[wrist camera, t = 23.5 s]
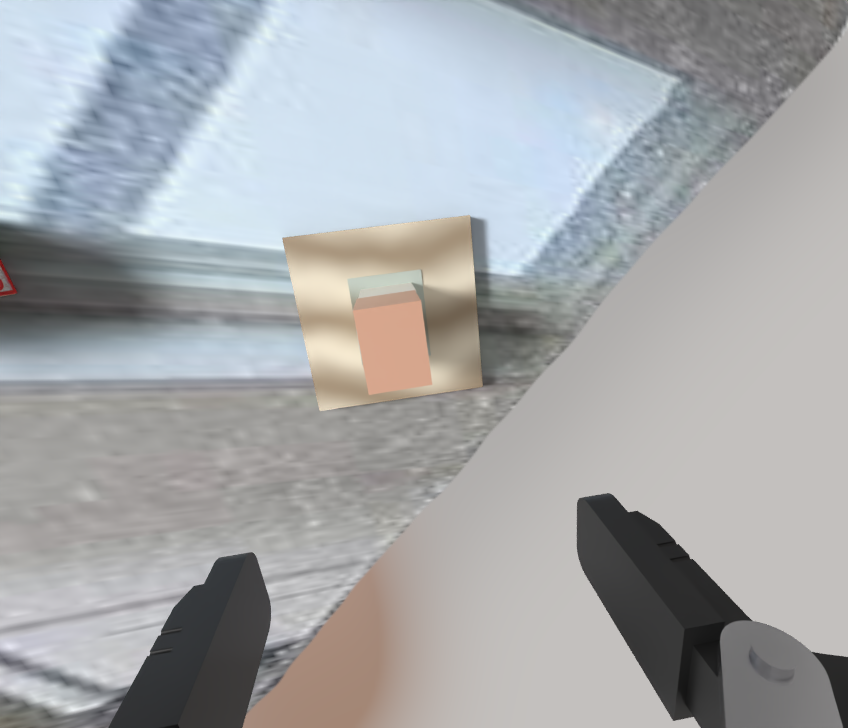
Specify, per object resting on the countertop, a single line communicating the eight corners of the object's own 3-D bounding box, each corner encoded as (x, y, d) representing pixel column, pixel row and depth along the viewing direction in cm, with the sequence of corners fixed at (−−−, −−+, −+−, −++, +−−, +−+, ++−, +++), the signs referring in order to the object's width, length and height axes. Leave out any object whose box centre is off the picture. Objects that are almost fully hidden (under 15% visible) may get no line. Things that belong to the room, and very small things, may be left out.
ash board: (286, 237, 35) (281, 238, 34) (466, 215, 36) (470, 215, 35) (321, 404, 41) (319, 411, 39) (479, 381, 42) (482, 387, 40)
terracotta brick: (356, 298, 31) (352, 310, 26) (414, 290, 31) (421, 300, 27) (370, 371, 33) (368, 395, 28) (424, 363, 33) (432, 384, 29)
